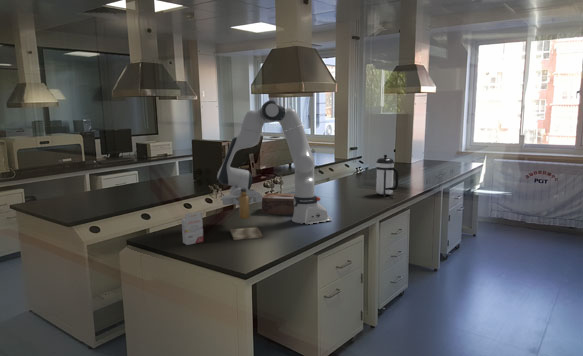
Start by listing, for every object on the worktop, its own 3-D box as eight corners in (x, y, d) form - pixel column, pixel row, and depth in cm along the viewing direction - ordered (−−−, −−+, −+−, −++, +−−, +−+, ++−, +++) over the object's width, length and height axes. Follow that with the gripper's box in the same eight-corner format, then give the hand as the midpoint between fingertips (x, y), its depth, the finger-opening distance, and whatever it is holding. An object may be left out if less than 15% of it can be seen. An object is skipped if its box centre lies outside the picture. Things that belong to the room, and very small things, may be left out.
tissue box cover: (261, 213, 243) (261, 197, 242) (267, 208, 257) (267, 193, 256) (303, 215, 239) (303, 199, 237) (307, 209, 253) (307, 194, 251)
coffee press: (372, 196, 291) (373, 155, 286) (374, 192, 306) (376, 153, 301) (397, 197, 286) (399, 156, 281) (398, 193, 301) (399, 153, 296)
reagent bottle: (248, 216, 203) (247, 187, 201) (250, 218, 198) (249, 189, 196) (239, 216, 202) (238, 188, 199) (240, 219, 197) (239, 189, 195)
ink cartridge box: (199, 239, 194) (198, 209, 191) (203, 241, 190) (202, 211, 187) (182, 242, 189) (180, 212, 186) (186, 245, 185) (184, 214, 182)
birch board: (257, 229, 209) (257, 227, 209) (262, 237, 196) (262, 234, 196) (230, 231, 206) (230, 229, 205) (233, 239, 192) (233, 237, 192)
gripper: (220, 192, 208) (222, 197, 195) (259, 189, 213) (264, 194, 200) (220, 204, 209) (223, 209, 196) (259, 201, 214) (264, 206, 201)
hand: (244, 202), depth 198 cm, fingers closed on reagent bottle, 5 cm apart
